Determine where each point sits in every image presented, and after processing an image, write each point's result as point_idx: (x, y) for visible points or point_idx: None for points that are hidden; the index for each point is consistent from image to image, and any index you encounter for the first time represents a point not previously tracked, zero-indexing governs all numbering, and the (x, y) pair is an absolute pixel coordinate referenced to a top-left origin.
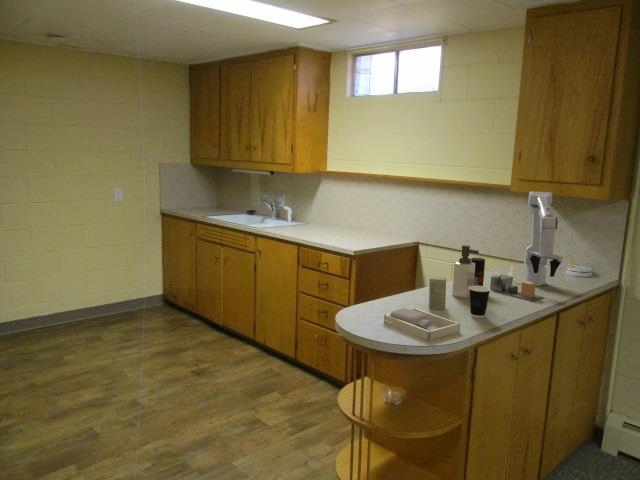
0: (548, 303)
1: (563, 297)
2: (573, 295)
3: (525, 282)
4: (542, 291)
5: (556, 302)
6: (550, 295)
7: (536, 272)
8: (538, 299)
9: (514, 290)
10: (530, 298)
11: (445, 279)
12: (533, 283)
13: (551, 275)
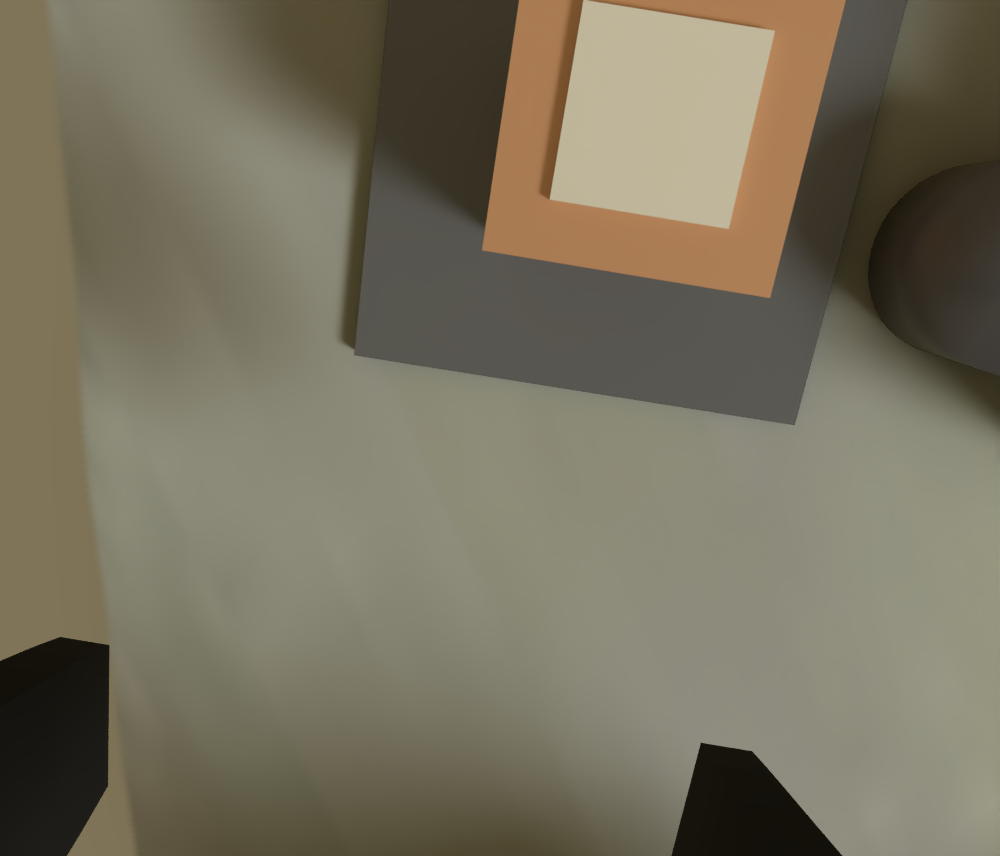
0: (130, 20)
1: (177, 636)
2: (145, 849)
3: (743, 26)
4: (573, 750)
5: (81, 224)
6: (371, 604)
7: (687, 825)
8: (377, 136)
9: (952, 185)
10: (496, 16)
11: None
12: (510, 152)
13: (21, 657)
